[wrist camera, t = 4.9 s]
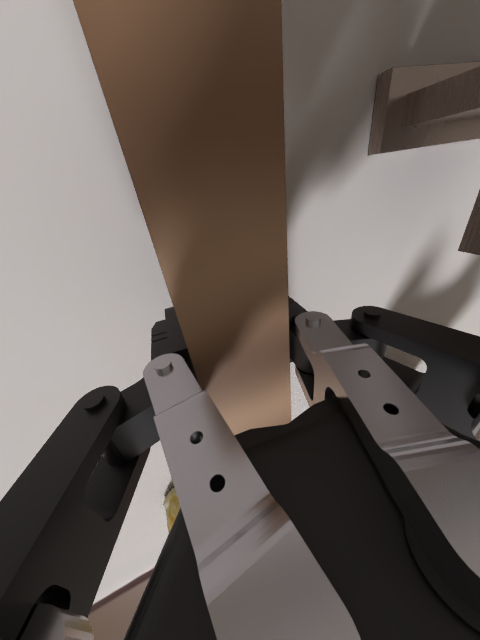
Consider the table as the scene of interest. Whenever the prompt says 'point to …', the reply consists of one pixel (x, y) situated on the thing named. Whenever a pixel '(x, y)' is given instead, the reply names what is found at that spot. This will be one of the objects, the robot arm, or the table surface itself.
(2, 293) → the table surface
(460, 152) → the table surface
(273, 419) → the rail
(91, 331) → the table surface
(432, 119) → the brackets
